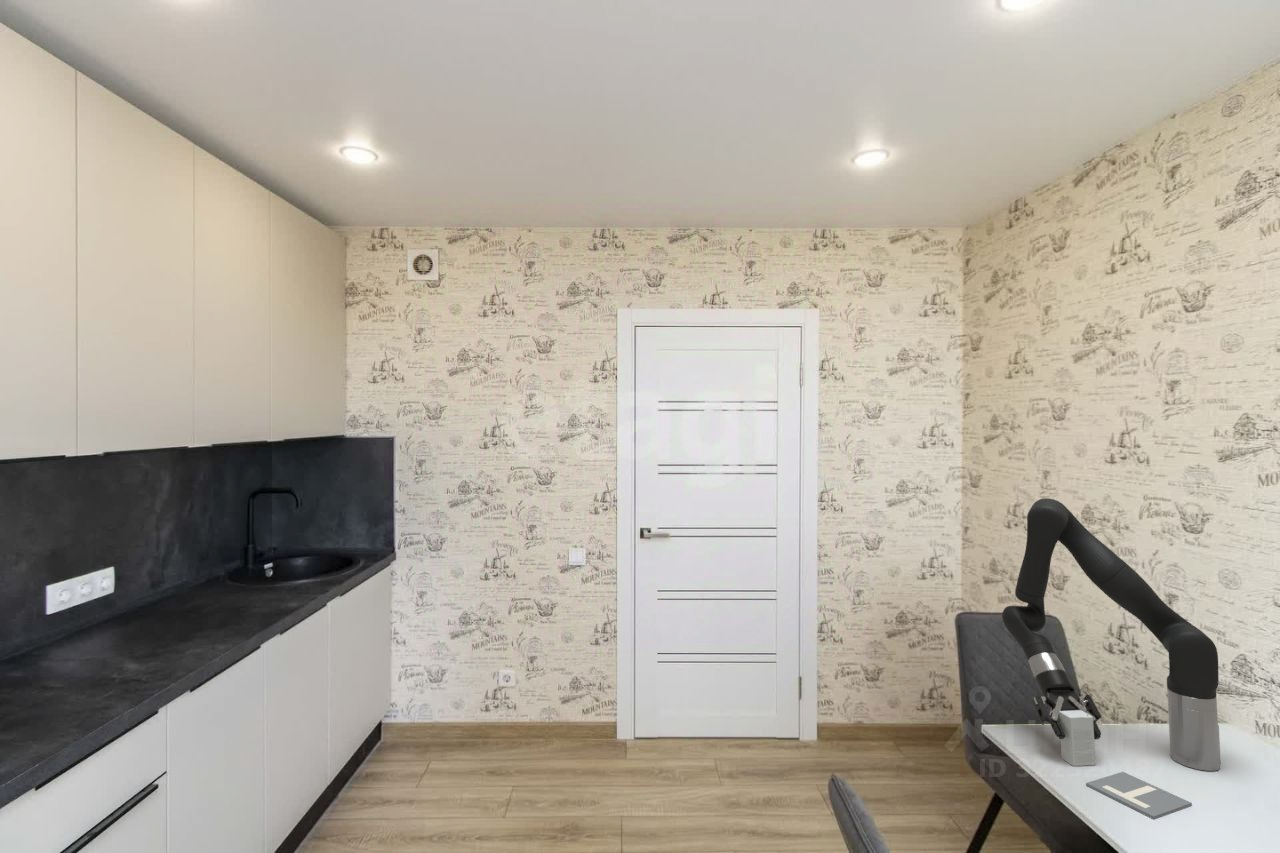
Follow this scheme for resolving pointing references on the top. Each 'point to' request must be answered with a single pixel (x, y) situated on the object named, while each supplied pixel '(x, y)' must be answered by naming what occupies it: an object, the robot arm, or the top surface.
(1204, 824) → the top surface
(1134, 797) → the letter card
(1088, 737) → the skincare box
